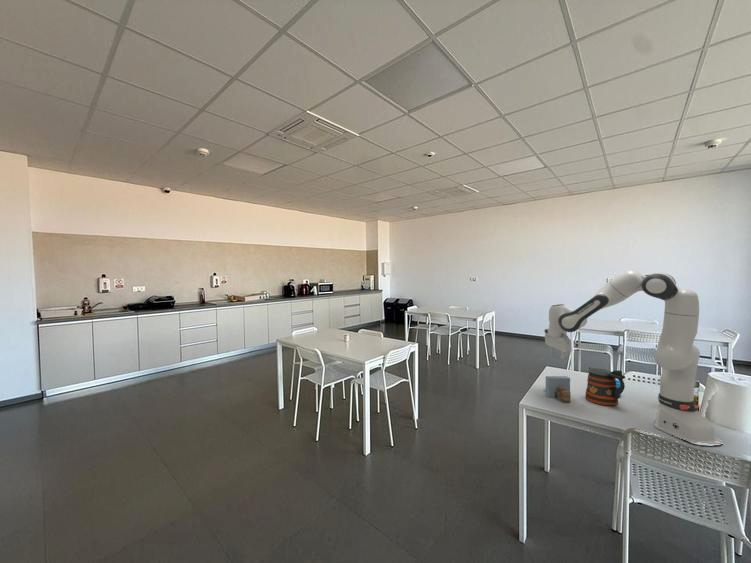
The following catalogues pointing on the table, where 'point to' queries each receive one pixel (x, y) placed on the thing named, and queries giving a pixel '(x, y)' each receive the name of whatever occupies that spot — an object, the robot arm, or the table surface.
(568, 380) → the light blue block
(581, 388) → the table surface
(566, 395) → the walnut rail
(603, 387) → the beer stein
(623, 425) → the table surface
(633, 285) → the robot arm
